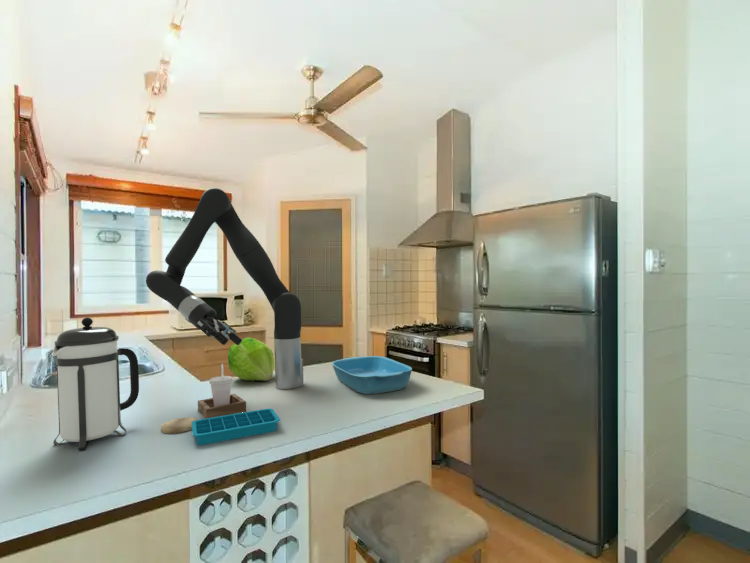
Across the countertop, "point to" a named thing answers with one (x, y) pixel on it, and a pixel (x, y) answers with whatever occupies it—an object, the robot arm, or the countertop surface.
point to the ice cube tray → (234, 426)
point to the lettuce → (251, 360)
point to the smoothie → (221, 389)
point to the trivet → (178, 425)
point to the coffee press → (91, 383)
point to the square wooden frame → (221, 407)
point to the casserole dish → (372, 374)
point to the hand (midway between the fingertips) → (233, 342)
